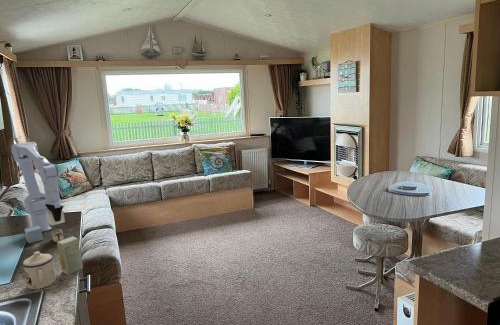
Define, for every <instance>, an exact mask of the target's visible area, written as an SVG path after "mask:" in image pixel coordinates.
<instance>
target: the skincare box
mask: <svg viewBox="0 0 500 325" xmlns="http://www.w3.org/2000/svg"><path fill="white" fill-rule="evenodd" d="M56 246H57V249H58V256H59V262H60V267H61V272H62V273H63V274H65V275H71V274H73V273H75V272H77V271H78V272H79V270H82V269H83V268H84V266H83V259H82V254H81V248H80V242H79V238H78V237H75V236H70V237H67V238H64V239H63V240H60V241H56Z"/></svg>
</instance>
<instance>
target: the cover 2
mask: <svg viewBox="0 0 500 325" xmlns="http://www.w3.org/2000/svg"><path fill="white" fill-rule="evenodd" d="M46 212H47V218H48V223H49V226H50V227H51V226H55V225H59V224H63V223H66V220H65V219H66V218H65V213H64V210H63V209H62V212H61V220H60V221H57V222H55V220H54V217H53V214H52V212H51V210H50V211H49V210H48V211H46Z"/></svg>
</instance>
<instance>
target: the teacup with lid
mask: <svg viewBox="0 0 500 325" xmlns="http://www.w3.org/2000/svg"><path fill="white" fill-rule="evenodd" d="M53 259H54V257H53V255H52V254H50V253H41V252H40V251H39V250H38V251H35V252H33V254H32V255H31V256H30V257H28V258H26V259H25V260H23V263H22V266H23V269H24V274H25V275H24V277H25V281H26V287H27V288H28V289H30V290H40V288H41V289H44V287H45V288H47V287H50V286H51V285H53V284H54V283H55V281H56V275H55V268H54V262H53Z"/></svg>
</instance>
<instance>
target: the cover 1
mask: <svg viewBox="0 0 500 325" xmlns="http://www.w3.org/2000/svg"><path fill="white" fill-rule="evenodd" d="M24 234H25V240H26V242H27V243H28V244H31V243H36V242H39V241H43V240H44V237H43V231H42V230H41V228H40V227H39V226H34V227H32V226H31V227H26V228H24Z"/></svg>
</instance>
